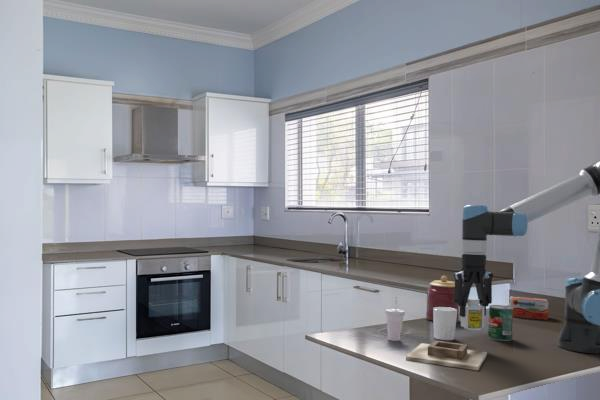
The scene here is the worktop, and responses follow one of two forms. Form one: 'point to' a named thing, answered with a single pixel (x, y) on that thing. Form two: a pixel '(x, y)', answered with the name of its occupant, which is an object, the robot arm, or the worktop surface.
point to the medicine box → (529, 307)
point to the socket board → (448, 355)
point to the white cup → (444, 323)
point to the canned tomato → (500, 322)
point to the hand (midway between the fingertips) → (472, 326)
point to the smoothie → (394, 322)
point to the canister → (441, 296)
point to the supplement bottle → (474, 314)
